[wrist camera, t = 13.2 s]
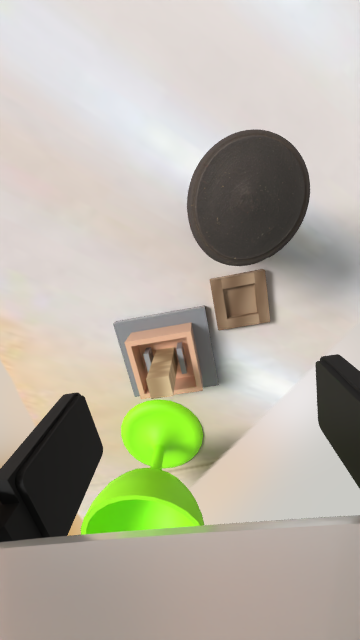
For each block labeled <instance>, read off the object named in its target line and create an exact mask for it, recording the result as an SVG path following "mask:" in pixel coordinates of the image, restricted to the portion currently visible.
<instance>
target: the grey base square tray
mask: <svg viewBox="0 0 360 640" xmlns="http://www.w3.org/2000/svg"><path fill="white" fill-rule="evenodd" d="M113 325H114V328H115V332H116V335H117V338H118V342H119V345H120V348H121V352H122V355H123V358H124V362H125V365H126V368H127V372H128V375H129V378H130V382H131V385H132V388H133V392H134V395H135V397H137V396H140V397H141V399H146V398H151V396H150V393H149V389H148V385H147V382H146V378H147V375H148V372H149V369H150V366H151V364H152V361H153V358H154V355H155V352H156V350H158V349H165V348H171V347H174V348H175V352H176V357H177V361H178V367H177V374H176V381H175V387H174V394H173V395H175V394H182V393H189V392H196V391H203V387H208V386H215V385H219V384H218V378H217V373H216V367H215V362H214V356H213V350H212V345H211V339H210V334H209V328H208V322H207V317H206V311H205V306H199V307H194V308H188V309H183V310H177V311H172V312H166V313H160V314H155V315H149V316H144V317H138V318H133V319H127V320H122V321H116V322H115V323H114V324H113Z"/></svg>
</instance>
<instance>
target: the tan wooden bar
mask: <svg viewBox="0 0 360 640" xmlns="http://www.w3.org/2000/svg"><path fill="white" fill-rule="evenodd" d="M177 367H178V361H177V357H176V352H175V348H174V347H171V348H165V349H158V350H156V352H155V355H154V358H153V361H152V364H151V366H150V369H149V372H148V375H147V378H146V382H147V385H148V389H149V393H150V396H151V399H154V398H162V397H169V396H173V394H174V387H175V381H176V374H177Z"/></svg>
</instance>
